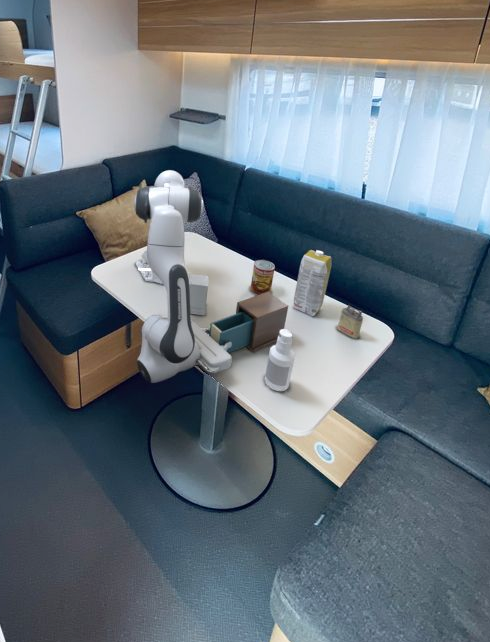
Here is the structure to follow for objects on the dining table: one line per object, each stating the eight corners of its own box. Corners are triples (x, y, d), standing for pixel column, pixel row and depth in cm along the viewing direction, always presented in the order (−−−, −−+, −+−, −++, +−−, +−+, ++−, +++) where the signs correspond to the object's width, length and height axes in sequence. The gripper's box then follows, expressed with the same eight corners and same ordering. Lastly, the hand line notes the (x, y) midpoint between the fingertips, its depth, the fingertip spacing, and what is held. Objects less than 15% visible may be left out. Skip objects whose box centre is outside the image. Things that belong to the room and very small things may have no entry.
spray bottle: (261, 374, 124) (269, 325, 117) (282, 373, 124) (292, 324, 118) (269, 392, 117) (279, 341, 111) (292, 391, 118) (303, 340, 111)
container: (207, 345, 133) (210, 323, 130) (240, 333, 139) (243, 311, 136) (218, 357, 128) (221, 333, 125) (252, 343, 135) (255, 320, 132)
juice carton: (322, 309, 155) (335, 253, 146) (314, 319, 149) (327, 261, 141) (298, 299, 161) (309, 245, 152) (290, 308, 155) (301, 252, 147)
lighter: (335, 329, 144) (341, 305, 141) (340, 325, 147) (346, 301, 143) (355, 340, 139) (361, 315, 136) (360, 335, 141) (367, 311, 138)
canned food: (249, 293, 164) (253, 267, 160) (251, 283, 171) (255, 258, 166) (269, 298, 161) (274, 271, 157) (271, 287, 168) (275, 262, 164)
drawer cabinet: (232, 333, 141) (236, 301, 136) (261, 321, 147) (267, 290, 143) (252, 351, 133) (258, 318, 128) (283, 338, 139) (289, 306, 134)
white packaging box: (205, 316, 149) (208, 286, 145) (184, 313, 151) (187, 283, 146) (205, 304, 156) (208, 275, 152) (186, 301, 157) (188, 273, 153)
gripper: (209, 366, 115) (246, 348, 121) (169, 324, 131) (203, 311, 138) (208, 383, 117) (244, 365, 123) (168, 340, 134) (202, 326, 140)
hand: (222, 336), depth 131 cm, fingers closed on container, 6 cm apart
